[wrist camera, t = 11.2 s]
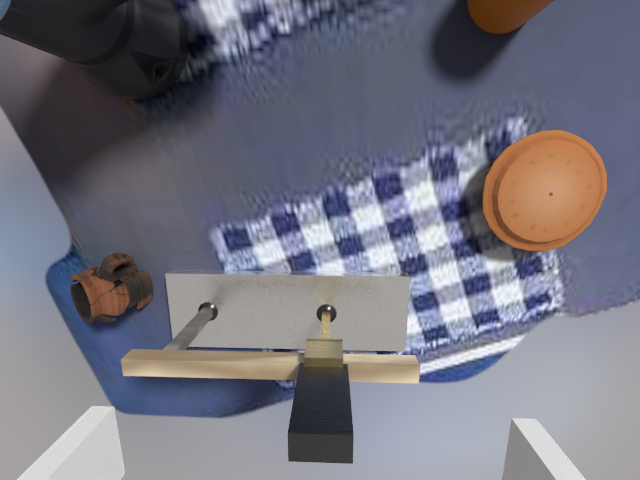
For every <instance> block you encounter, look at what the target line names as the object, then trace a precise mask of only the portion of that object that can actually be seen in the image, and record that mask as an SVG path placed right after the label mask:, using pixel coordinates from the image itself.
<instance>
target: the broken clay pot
mask: <svg viewBox="0 0 640 480" xmlns="http://www.w3.org/2000/svg"><path fill="white" fill-rule="evenodd" d="M136 270H137V266H136V264H135V263H134V261H133V259H132V258H131V257H130V256H129V255H127V254H122V253H116V254H112V255H110V256H108V257H106V258H105V259H104V260H103V262H102V264H101V267H99V268H98V269H97V267H91V268H90V269H86V270H83V271H82V273H80V274H74V275H73V276H72V277H71V279H72V281H73V282H75V281H78V283H77V284H73V285H71V286H70V290H71V296H72V299H73V302H74V305H75V307H76V309H77V312H78V313H79V315H80V317H81V318H82V319H83V320H84V321H85V322H86V323H88V324H95V321H99V322H114V321H116V320H117V319H116V318H110V317H107V316H106V315H115V316H118V315H120V314H122V313H124V312H125V310H126V308H128V309H129V308H130V307H133V306H134V305H136V304H137V303H138V304H137V307H136V308H137V309H141V308H142V307H144V306H145V305H147V304H148V303H150V301H151V299H152V293H153V290H152V288H153V286H152V282H151V278H150V277H149V274H148V272H147V271H146V270H145V271H139V272H136ZM95 275H97V276H95ZM117 280H120V281H122V283H121V284H120V285H118V286H117V287H116V285H115V283H114V282H115V281H117ZM105 314H106V315H105Z"/></svg>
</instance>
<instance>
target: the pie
mask: <svg viewBox="0 0 640 480" xmlns="http://www.w3.org/2000/svg"><path fill="white" fill-rule="evenodd" d="M606 192H607V173H606V170H605V167H604V164H603V161H602V158H601V157H600V156H599V154H598V153H597V152H596V150H595V149H594V148H593V146H592V145H591V144H589V143H588V142H586V141H585V140H583V139H582V138H580V137H578V136H577V135H574V134H571V133H568V132H565V131H562V130H551V131H540V132H537V133H535V134H532V135H529V136H527V137H524V138H522V139H520V140H519V141H517V142H515V143H514V144H512V145H510V146H509V147H507V148H506V149H505V150H504V151H503V152H502V153H501V154H500V156H499V157H498V158H497V159H496V160H495V161H494V162H493V164H492V166H491V168H490V170H489V172H488V174H487V175H486V177H485V181H484V188H483V195H482V212H483V214H484V217H485V219H486V221H487V223H488V226H489V227H490V229H491V230H492V231H493V232H494V233H495V235H496V236H497V237H498V238H499V239H500V240H502V241H504V242H505V243H507V244H508V245H510V246H511V247H514V248H518V249H522V250H526V251H547V250H550V249H554V248H558V247H562V246H564V245H565V244H567V243H568V242H570V241H571V240H572V239H574V238H575V237H577V236H578V235H579V234H580V233H581V232H582V231H583V230H584V229H585V228H586V227H588V226H589V225H590V224H591V222H592V221H593V219H594V217H595V216H596V214H597V212H598V211H599V209H600V207H601V204H602V202H603V199H604V197H605V194H606Z"/></svg>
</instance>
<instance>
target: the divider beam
mask: <svg viewBox="0 0 640 480" xmlns="http://www.w3.org/2000/svg"><path fill="white" fill-rule="evenodd" d="M212 317H213V312H212V308H205V307H203V308H202V309H201V310H200V311H199V312H198V313H197V314H196V315H195V316H194V318H193V319H192V320H191V321H190V322H189V323H188V324H187V325H186V326H185V327H184V328H183V329H182V330H181V331H180V332H179V333H178V334H177V336H176V337H175V338H174V339H173V340H172V341H171V342H170V343H169V344H168V345H167V346H166V347H165V348H164V349H163V350H148V349H132V350H131V351H130V352H129V353H127V354H126V355H125V356H124V357H123V358H122V359H121V364H122V371H123V376H152V377H191V378H231V379H270V380H297V377H298V371H299V365H300V363H304V354H305V353H283V352H238V351H193V350H185V349H186V348H187V347H188V346H189V345H190V343H191V342H192V341H193V340H194V339H195V337H196V336H197V335H198V334H199V332H200V331H201V330H202V329H203V328H204V326H205V325H206V324H207V323H208V321H209V320H210V319H211V318H212ZM343 364H348V373H349V382H350V381H351V382H388V383H419V374H420V365H419V363H418V361H417V358H416V356H415V355H373V354H343Z"/></svg>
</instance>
